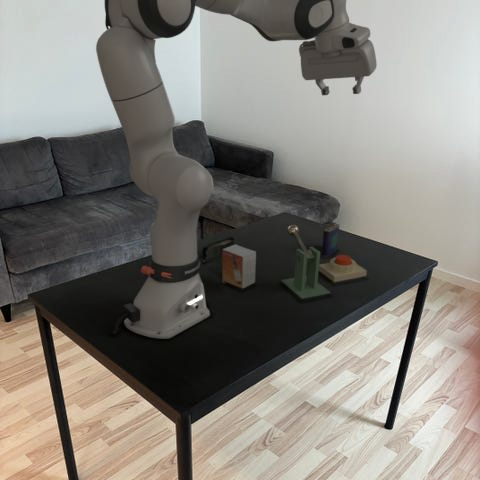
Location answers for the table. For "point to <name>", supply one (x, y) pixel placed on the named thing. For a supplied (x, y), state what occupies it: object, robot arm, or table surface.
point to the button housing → (342, 270)
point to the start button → (343, 260)
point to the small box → (238, 266)
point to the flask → (330, 239)
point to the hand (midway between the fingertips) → (341, 93)
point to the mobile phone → (216, 247)
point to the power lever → (300, 242)
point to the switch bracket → (303, 283)
